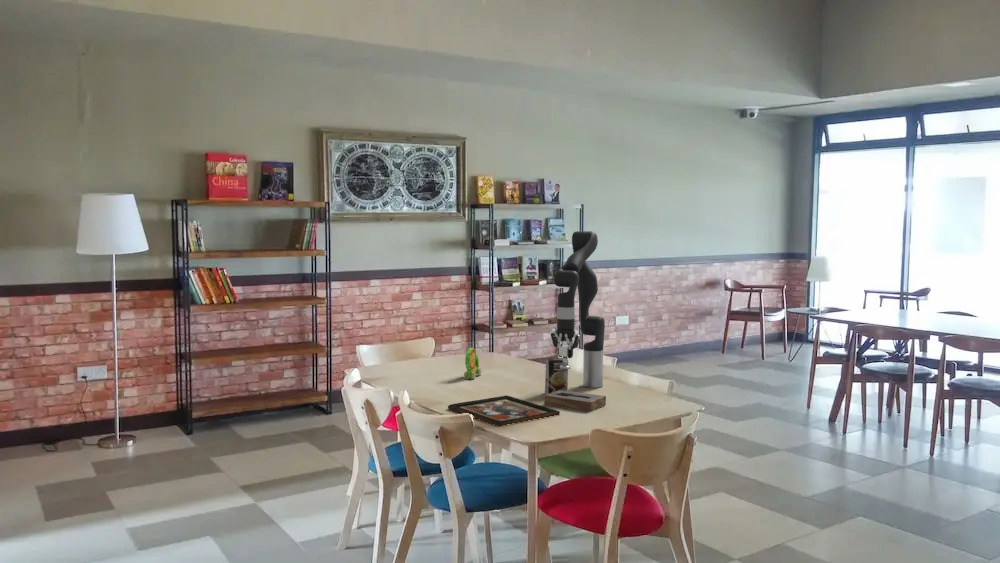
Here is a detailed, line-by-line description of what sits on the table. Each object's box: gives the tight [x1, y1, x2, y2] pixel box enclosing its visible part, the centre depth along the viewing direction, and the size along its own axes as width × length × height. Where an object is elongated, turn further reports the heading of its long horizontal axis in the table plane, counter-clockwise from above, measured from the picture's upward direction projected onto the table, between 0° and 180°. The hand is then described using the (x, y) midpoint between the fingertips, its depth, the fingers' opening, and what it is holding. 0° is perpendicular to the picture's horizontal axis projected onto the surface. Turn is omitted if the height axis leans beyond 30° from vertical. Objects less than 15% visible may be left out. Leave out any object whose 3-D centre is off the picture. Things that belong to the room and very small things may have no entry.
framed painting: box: [447, 395, 561, 427], centre depth 331 cm, size 38×35×3 cm
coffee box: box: [544, 357, 569, 395], centre depth 365 cm, size 9×6×16 cm
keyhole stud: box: [558, 344, 571, 370], centre depth 346 cm, size 4×4×10 cm
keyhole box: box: [543, 390, 607, 413], centre depth 344 cm, size 14×22×4 cm, turn 56°
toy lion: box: [463, 347, 482, 380], centre depth 401 cm, size 16×5×15 cm, turn 164°
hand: (565, 357), depth 346 cm, fingers closed on keyhole stud, 4 cm apart
